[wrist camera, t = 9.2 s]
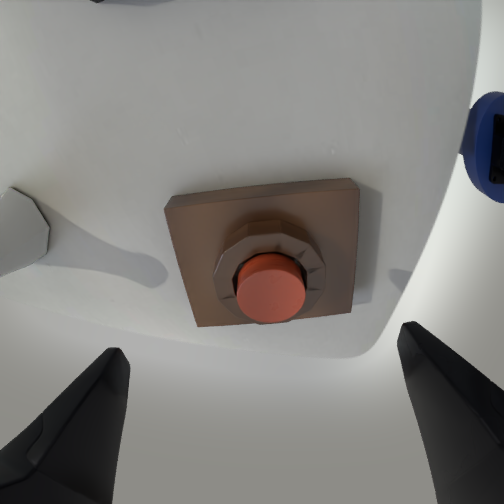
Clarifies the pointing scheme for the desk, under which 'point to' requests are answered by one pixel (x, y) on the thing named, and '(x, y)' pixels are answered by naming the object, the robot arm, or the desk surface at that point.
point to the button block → (266, 243)
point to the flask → (20, 232)
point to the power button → (270, 288)
